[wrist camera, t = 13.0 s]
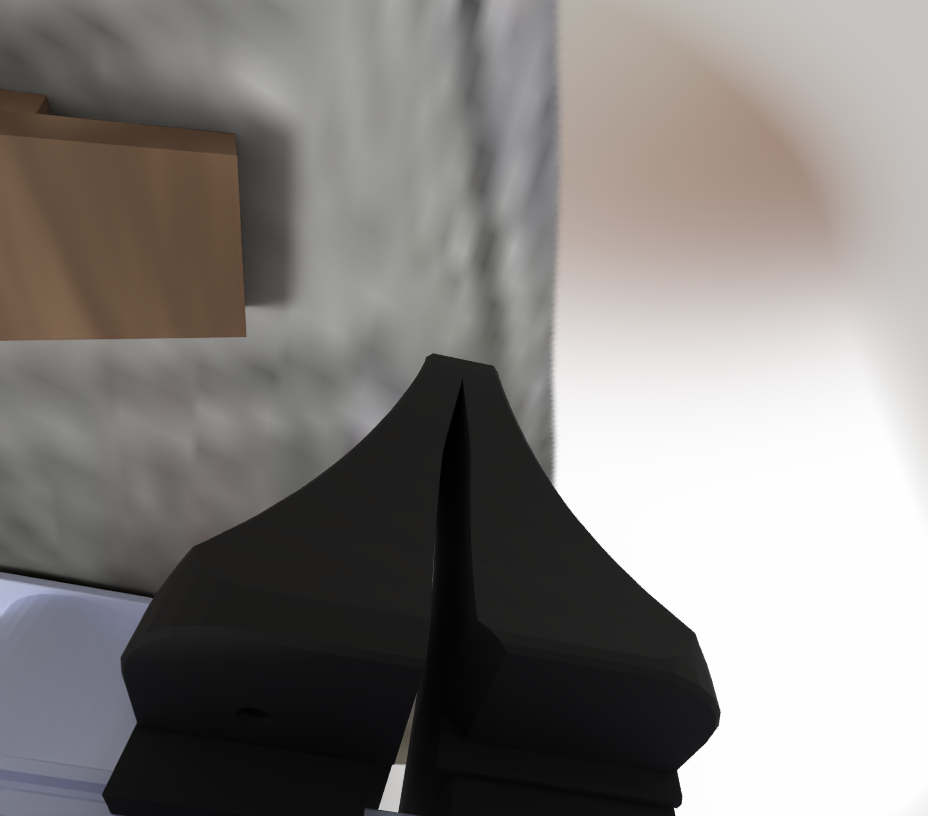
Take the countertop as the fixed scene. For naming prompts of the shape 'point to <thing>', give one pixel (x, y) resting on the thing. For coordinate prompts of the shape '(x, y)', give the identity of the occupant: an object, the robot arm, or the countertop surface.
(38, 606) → the robot arm
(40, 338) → the domino
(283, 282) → the countertop surface
